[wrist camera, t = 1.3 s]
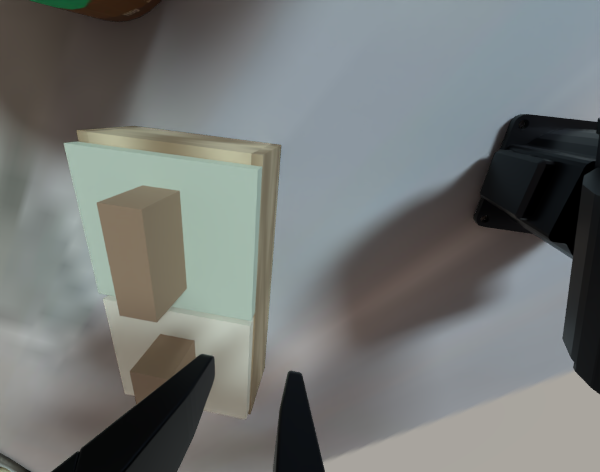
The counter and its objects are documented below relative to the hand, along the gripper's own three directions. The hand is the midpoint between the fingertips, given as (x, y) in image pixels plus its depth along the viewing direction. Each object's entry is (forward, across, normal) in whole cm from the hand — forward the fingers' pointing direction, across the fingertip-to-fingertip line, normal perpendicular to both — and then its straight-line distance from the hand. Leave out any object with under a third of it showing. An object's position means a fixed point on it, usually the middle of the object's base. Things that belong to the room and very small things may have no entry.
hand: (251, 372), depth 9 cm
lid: (+8, +7, +10) cm, 14 cm away
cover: (+8, +7, 0) cm, 11 cm away
